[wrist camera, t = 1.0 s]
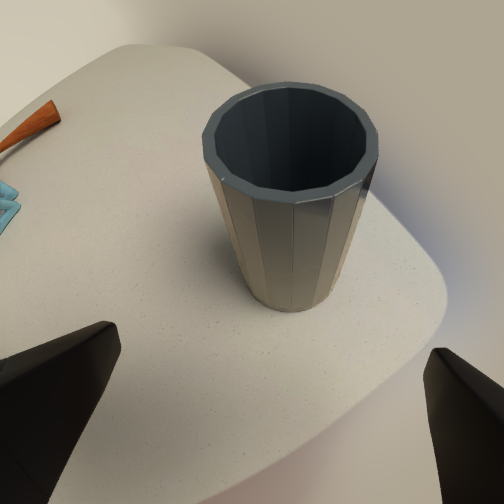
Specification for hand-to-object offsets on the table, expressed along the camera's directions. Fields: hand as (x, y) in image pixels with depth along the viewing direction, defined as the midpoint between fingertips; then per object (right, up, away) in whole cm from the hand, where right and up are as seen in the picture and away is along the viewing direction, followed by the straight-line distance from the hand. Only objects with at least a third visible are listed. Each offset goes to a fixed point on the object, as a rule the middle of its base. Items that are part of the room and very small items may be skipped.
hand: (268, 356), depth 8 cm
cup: (+2, +2, +15) cm, 15 cm away
